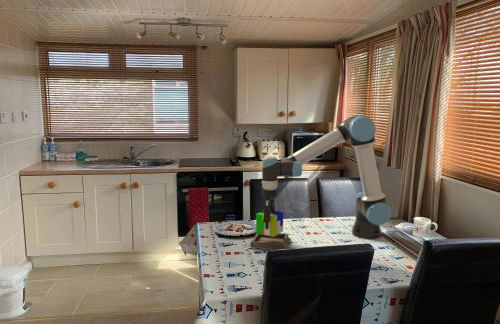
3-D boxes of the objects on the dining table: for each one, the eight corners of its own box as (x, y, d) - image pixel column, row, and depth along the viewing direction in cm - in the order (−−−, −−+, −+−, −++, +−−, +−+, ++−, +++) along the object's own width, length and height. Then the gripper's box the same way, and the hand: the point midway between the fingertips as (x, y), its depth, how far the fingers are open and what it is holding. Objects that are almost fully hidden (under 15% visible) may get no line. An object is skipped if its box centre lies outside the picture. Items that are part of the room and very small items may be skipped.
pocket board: (256, 236, 205) (256, 231, 205) (290, 239, 201) (290, 233, 200) (248, 248, 188) (248, 242, 188) (284, 251, 184) (284, 245, 183)
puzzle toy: (283, 231, 195) (283, 212, 194) (273, 236, 187) (273, 216, 185) (265, 228, 200) (265, 209, 199) (256, 233, 192) (256, 214, 191)
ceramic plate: (206, 236, 208) (205, 230, 207) (225, 223, 232) (224, 218, 231) (251, 241, 199) (250, 235, 199) (265, 227, 223) (265, 222, 223)
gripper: (267, 183, 203) (267, 223, 206) (256, 193, 180) (257, 237, 183) (281, 184, 201) (281, 224, 204) (272, 193, 178) (272, 239, 181)
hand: (269, 230), depth 194 cm, fingers closed on puzzle toy, 11 cm apart
